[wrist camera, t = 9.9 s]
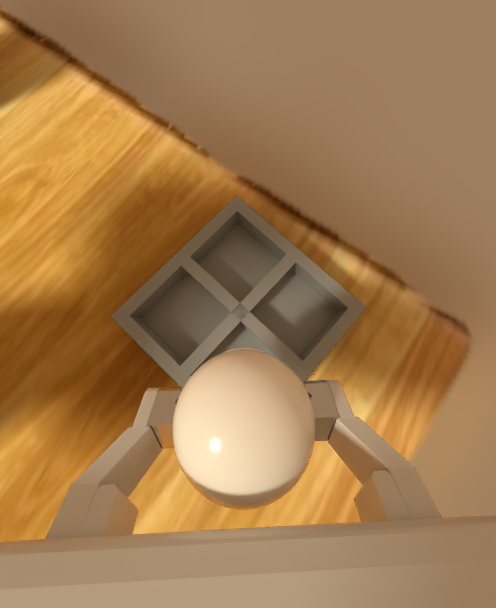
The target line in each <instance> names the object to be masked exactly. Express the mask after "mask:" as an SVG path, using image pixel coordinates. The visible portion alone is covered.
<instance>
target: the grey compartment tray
mask: <svg viewBox="0 0 496 608" xmlns="http://www.w3.org/2000/svg"><path fill="white" fill-rule="evenodd" d="M365 309H366V307H365V306H364V305H363V304H362V303H361V302H359V301H358V300H357V299H356V298H355V297H354V296H353V295H351V294H350V293H349V292H348V291H347V290H346V289H344V288H343V287H342V286H341V285H340V284H339V283H338V282H336V281H335V280H334V279H333V278H332V277H331V276H329V275H328V274H327V273H326V272H325V271H324V270H322V269H321V268H320V267H319V266H318V265H317V264H316V263H314V262H313V261H312V260H311V259H310V258H309V257H307V256H306V255H305V254H304V253H303V252H302V251H300V250H299V249H298V248H297V247H296V246H295V245H294V244H292V243H291V242H290V241H289V240H288V239H287V238H285V237H284V236H283V235H282V234H281V233H280V232H278V231H277V230H276V229H275V228H274V227H273V226H272V225H270V224H269V223H268V222H267V221H266V220H265V219H263V218H262V217H261V216H260V215H259V214H258V213H256V212H255V211H254V210H253V209H252V208H251V207H250V206H248V205H247V204H246V203H245V202H244V201H243V200H241V199H240V198H239V197H238V196H237V195H236V196H235V197H234V198H233V199H232V200H231V201H230V202H229V203H228V204H227V205H226V206H225V207H224V208H223V209H222V210H221V211H220V212H219V213H218V214H217V215H216V216H215V217H214V218H212V219H211V220H210V221H209V222H208V223H207V224H206V225H205V226H204V227H203V228H202V229H201V230H200V231H199V232H198V233H197V234H196V235H195V236H194V237H193V238H192V239H191V240H190V241H189V242H187V243H186V244H185V245H184V246H183V247H182V248H181V249H180V250H179V251H178V252H177V253H176V254H175V255H174V256H173V257H172V258H171V259H170V260H169V261H168V262H167V263H166V264H165V265H163V266H162V267H161V268H160V269H159V270H158V271H157V272H156V273H155V274H154V275H153V276H152V277H151V278H150V279H149V280H148V281H147V282H146V283H145V284H144V285H143V286H142V287H141V288H140V289H138V290H137V291H136V292H135V293H134V294H133V295H132V296H131V297H130V298H129V299H128V300H127V301H126V302H125V303H124V304H123V305H122V306H121V307H120V308H119V309H118V310H117V311H116V312H115V313H113V314H112V315H111V317H112V319H113V320H114V321H115V322H116V323H117V324H118V325H119V326H120V327H121V328H122V329H123V330H124V331H125V332H126V333H127V334H128V335H129V336H130V337H131V338H132V339H133V340H134V341H135V342H136V343H137V344H138V345H139V346H140V347H141V348H142V349H143V350H144V351H145V352H146V353H147V354H148V355H149V356H150V357H151V358H152V359H153V360H154V361H155V362H156V363H157V364H158V365H159V366H160V367H161V368H162V369H163V370H164V371H165V372H166V373H167V374H168V375H169V376H170V377H171V378H172V379H173V380H174V381H175V382H176V383H177V384H178V385H179V386H180V387H184V386H185V384H186V382H187V381H188V379H189V378H190V377H191V376H192V375H193V373H194V372H195V371H196V370H197V369H198V368H199V367H200V366H201V365H203V364H204V363H205V362H207V361H208V360H209V359H211V358H213V357H215V356H217V355H219V354H221V353H224V352H226V351H228V350H231V349H233V348H237V347H252V348H256V349H259V350H261V351H263V352H265V353H268V354H270V355H272V356H274V357H276V358H278V359H279V360H281V361H283V362H284V363H285V364H286V365H287V366H289V367H290V368H291V369H292V370H293V371H294V373H295V374H296V375H297V376H298V377H299V379H300V380H301V381H302V382H303V381H305V380H306V379H307V377H308V376H309V375H310V374H311V373H312V372H313V370H314V369H315V368H316V367H317V366H318V364H319V363H320V362H321V361H322V360H323V359H324V357H325V356H326V355H327V354H328V353H329V351H330V350H331V349H332V348H333V347H334V346H335V344H336V343H337V342H338V341H339V340H340V338H341V337H342V336H343V335H344V334H345V333H346V331H347V330H348V329H349V328H350V327H351V325H352V324H353V323H354V322H355V321H356V320H357V318H358V317H359V316H360V315H361V314H362V313H363V311H364V310H365Z"/></svg>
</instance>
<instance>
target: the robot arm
mask: <svg viewBox="0 0 496 608" xmlns="http://www.w3.org/2000/svg"><path fill="white" fill-rule="evenodd" d="M302 383H303V385H304V386H305V388H306V390H307V392H308V395H309V397H310V400H311V403H312V407H313V410H314V416H315V441H328V443H329V444H330V445H331V446H332V448H333V449H334V450H335V451H336V453H337V454H338V455H339V456H340V457H341V459H342V460H343V461H344V462H345V464H346V465H347V466H348V467H349V469H350V470H351V471H352V472H353V474H354V475H355V476H356V477H357V478H358V480H359V481H360V482H361V483H362V485H363V486H362V488H361V489H360V491H359V492H358V493H357V495H356V496H355V498H354V501H355V504H356V507H357V510H358V514H359V517H360V520H361V522H350V523H332V524H314V525H296V526H277V527H259V528H241V529H223V530H204V531H186V532H168V533H150V534H133V530H134V526H135V522H136V518H137V514H138V509H137V507H136V506H135V505H134V504H133V503H132V502H131V501H130V500H129V499H128V497H129V496H130V494H131V493H132V492H133V490H134V489H135V487H136V486H137V485H138V483H139V482H140V480H141V479H142V478H143V476H144V475H145V473H146V472H147V471H148V469H149V468H150V466H151V465H152V464H153V462H154V461H155V459H156V458H157V457H158V455H159V454H160V452H161V451H162V449H164V448H174V442H173V417H174V412H175V408H176V404H177V401H178V398H179V396H180V393H181V391H182V389H183V387H163V388H161V387H159V388H148V389H147V390H146V391H145V394H144V396H143V399H142V402H141V404H140V407H139V410H138V413H137V415H136V418H135V421H134V424H133V426H132V427H128V428H127V429H126V430H125V431H124V432H123V433H122V434H121V435H120V436H119V437H118V438H117V439H116V440H115V441H114V442H113V443H112V444H111V445H110V446H109V447H108V448H107V449H106V450H105V451H104V452H103V453H102V454H101V455H100V456H99V457H98V458H97V459H96V460H95V461H94V462H93V463H92V464H91V465H90V467H89V468H88V469H87V470H86V471H85V472H84V473H83V474H82V475H81V476H80V477H79V478H78V479H77V480H76V481H75V482H74V483H73V484H72V485H71V486H70V488H69V490H68V493H67V495H66V497H65V499H64V501H63V503H62V505H61V507H60V509H59V511H58V513H57V515H56V517H55V520H54V522H53V524H52V526H51V528H50V530H49V532H48V534H47V536H46V538H45V539H40V540H22V541H4V542H0V608H496V515H479V516H460V517H441V515H440V513H439V511H438V509H437V507H436V505H435V503H434V502H433V500H432V498H431V496H430V494H429V492H428V490H427V489H426V487H425V485H424V483H423V481H422V479H421V477H420V476H419V474H418V472H417V470H416V468H415V467H414V466H413V465H411V464H410V463H409V462H408V461H407V460H406V459H405V458H404V457H402V456H401V455H400V454H399V453H398V452H397V451H396V450H395V449H394V448H392V447H391V446H390V445H389V444H388V443H387V442H386V441H385V440H383V439H382V438H381V437H380V436H379V435H378V434H377V433H376V432H374V431H373V430H372V429H371V428H370V427H369V426H368V425H367V424H365V423H364V422H363V421H362V420H361V419H360V418H359V417H354V415H353V412H352V410H351V408H350V405H349V403H348V401H347V398H346V396H345V394H344V391H343V389H342V386H341V384H340V382H339V381H338V380H326V381H325V380H319V381H303V382H302Z"/></svg>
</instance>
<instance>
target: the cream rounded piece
mask: <svg viewBox="0 0 496 608" xmlns="http://www.w3.org/2000/svg"><path fill="white" fill-rule="evenodd" d="M314 441H315V416H314V410H313V407H312V403H311V400H310V397H309V395H308V392H307V390H306V388H305V386H304V385H303V383H302V381H301V380H300V379H299V377H298V376H297V375H296V374H295V373H294V371H293V370H292V369H291V368H290V367H289V366H287V365H286V364H285V363H284V362H283V361H281V360H279V359H278V358H276V357H274V356H272V355H270V354H268V353H265V352H263V351H261V350H259V349H256V348H252V347H237V348H233V349H231V350H228V351H226V352H224V353H221V354H219V355H217V356H215V357H213V358H211V359H209V360H208V361H207V362H205V363H204V364H203V365H201V366H200V367H199V368H198V369H197V370H196V371H195V372H194V373H193V375H192V376H191V377H190V378H189V379H188V381H187V382H186V384H185V386H184V387H183V389H182V391H181V393H180V396H179V398H178V401H177V404H176V408H175V412H174V417H173V442H174V448H175V453H176V456H177V459H178V462H179V464H180V467H181V469H182V471H183V472H184V474H185V476H186V477H187V479H188V480H189V482H190V483H191V484H192V485H193V486H194V488H195V489H196V490H197V491H198V492H200V493H201V494H202V495H203V496H204V497H206V498H207V499H209V500H210V501H212V502H214V503H216V504H218V505H221V506H224V507H227V508H231V509H237V510H249V509H256V508H260V507H264V506H267V505H269V504H271V503H273V502H275V501H277V500H278V499H280V498H282V497H283V496H284V495H285V494H287V493H288V492H289V491H290V490H291V489H292V488H293V487H294V486H295V485H296V483H297V482H298V481H299V479H300V478H301V476H302V475H303V473H304V472H305V470H306V468H307V466H308V464H309V461H310V458H311V455H312V452H313V447H314Z"/></svg>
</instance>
